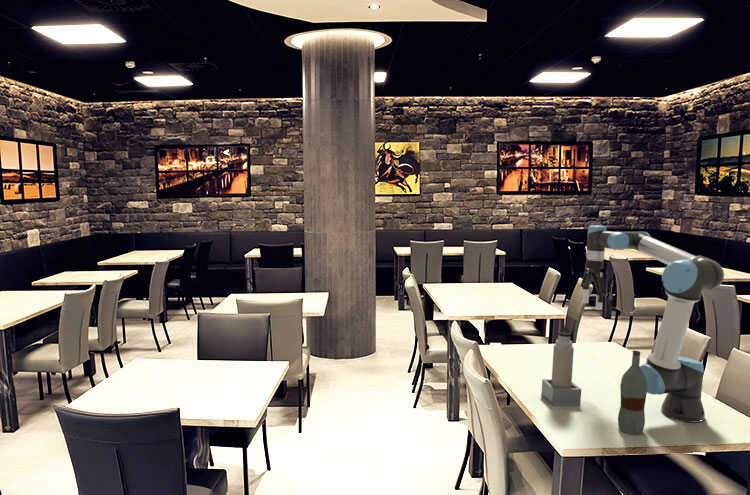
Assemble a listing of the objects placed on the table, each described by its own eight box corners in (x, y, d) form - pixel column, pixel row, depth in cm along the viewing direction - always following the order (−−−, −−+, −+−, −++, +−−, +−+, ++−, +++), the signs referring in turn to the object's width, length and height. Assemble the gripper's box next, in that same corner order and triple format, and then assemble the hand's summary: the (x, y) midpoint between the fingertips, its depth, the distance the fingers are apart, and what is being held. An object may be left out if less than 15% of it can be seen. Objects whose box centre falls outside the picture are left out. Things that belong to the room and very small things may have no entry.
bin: (580, 405, 224) (581, 389, 224) (551, 405, 224) (552, 389, 223) (568, 395, 236) (569, 379, 236) (541, 394, 236) (542, 379, 235)
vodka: (616, 423, 208) (622, 346, 205) (643, 427, 205) (649, 349, 202) (617, 432, 199) (623, 353, 196) (645, 437, 196) (651, 356, 193)
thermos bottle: (547, 394, 234) (551, 330, 231) (566, 394, 234) (570, 330, 231) (554, 401, 226) (558, 335, 223) (573, 401, 226) (577, 335, 223)
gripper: (575, 256, 256) (572, 300, 258) (599, 263, 232) (596, 312, 234) (590, 256, 257) (587, 300, 259) (616, 263, 232) (613, 312, 234)
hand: (591, 306), depth 246 cm, fingers open, 13 cm apart
